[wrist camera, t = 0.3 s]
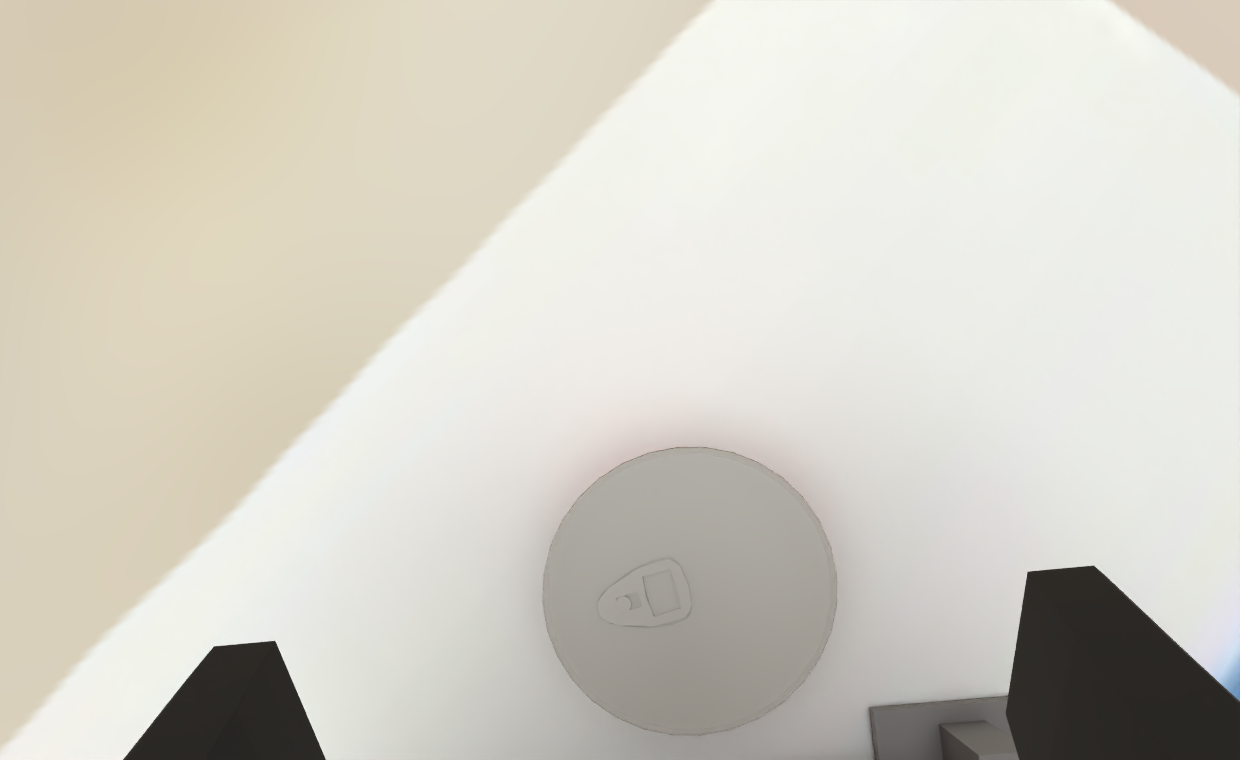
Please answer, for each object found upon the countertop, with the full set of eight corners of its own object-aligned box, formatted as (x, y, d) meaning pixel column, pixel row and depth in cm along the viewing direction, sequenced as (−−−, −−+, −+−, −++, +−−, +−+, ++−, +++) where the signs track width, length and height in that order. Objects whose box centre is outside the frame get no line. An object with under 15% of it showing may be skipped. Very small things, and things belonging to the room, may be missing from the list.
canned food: (543, 539, 39) (487, 544, 28) (723, 426, 39) (738, 388, 28) (651, 720, 37) (636, 799, 27) (836, 603, 38) (897, 635, 27)
